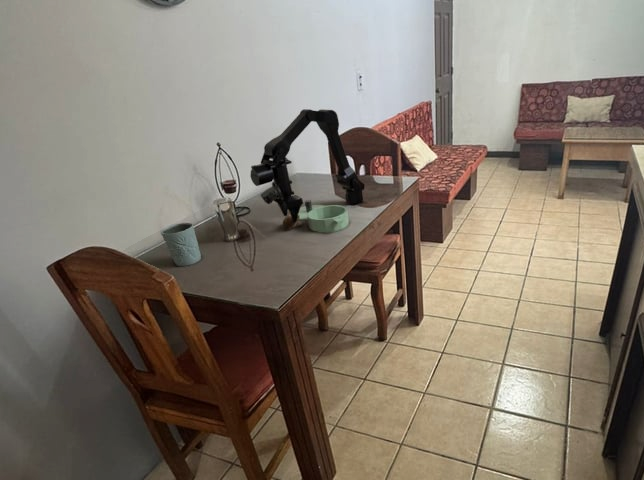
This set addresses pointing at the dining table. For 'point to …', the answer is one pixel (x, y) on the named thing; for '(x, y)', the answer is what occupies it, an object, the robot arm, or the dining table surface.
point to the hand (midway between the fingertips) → (290, 218)
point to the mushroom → (290, 222)
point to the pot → (328, 218)
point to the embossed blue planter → (182, 243)
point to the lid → (306, 210)
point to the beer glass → (227, 218)
